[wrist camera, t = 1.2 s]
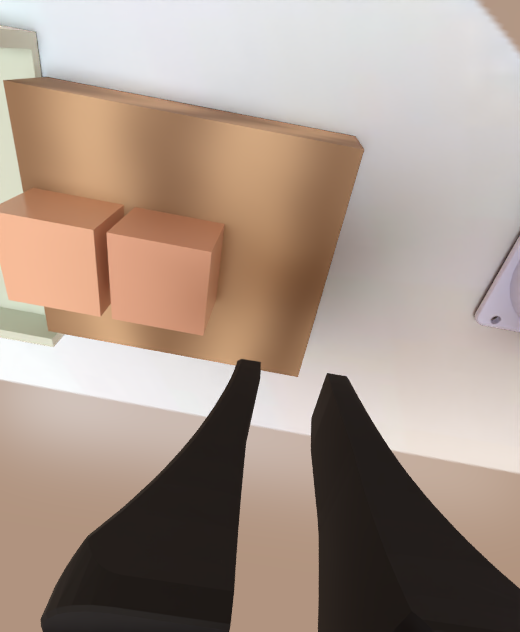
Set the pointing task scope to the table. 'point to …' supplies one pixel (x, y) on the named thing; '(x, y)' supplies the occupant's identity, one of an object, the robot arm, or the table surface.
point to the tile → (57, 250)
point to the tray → (17, 183)
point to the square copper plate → (199, 205)
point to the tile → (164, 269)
